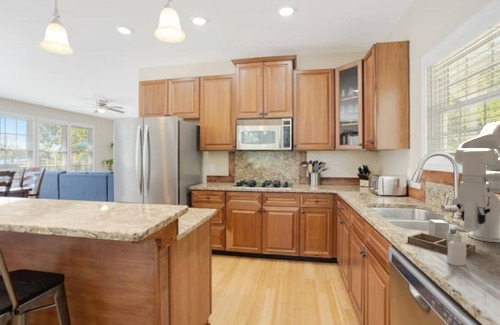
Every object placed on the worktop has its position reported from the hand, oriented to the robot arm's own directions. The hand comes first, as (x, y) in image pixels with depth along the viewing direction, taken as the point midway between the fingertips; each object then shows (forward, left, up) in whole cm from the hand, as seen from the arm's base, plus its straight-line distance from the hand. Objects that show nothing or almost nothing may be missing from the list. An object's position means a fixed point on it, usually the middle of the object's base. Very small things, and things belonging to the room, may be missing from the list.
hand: (473, 221), depth 110 cm
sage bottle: (+11, -2, -11) cm, 16 cm away
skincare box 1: (-5, -15, -11) cm, 19 cm away
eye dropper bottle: (+25, +4, -11) cm, 28 cm away
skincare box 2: (-1, 0, -3) cm, 4 cm away
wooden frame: (+11, -7, -11) cm, 17 cm away
